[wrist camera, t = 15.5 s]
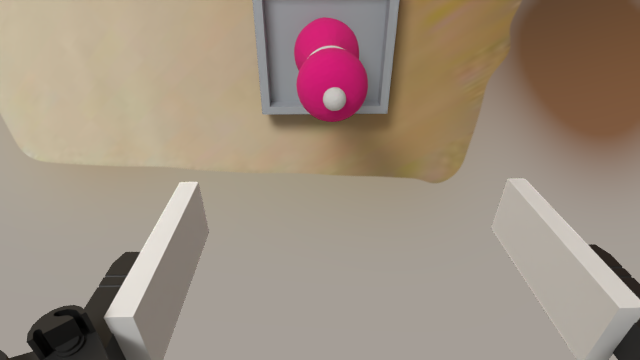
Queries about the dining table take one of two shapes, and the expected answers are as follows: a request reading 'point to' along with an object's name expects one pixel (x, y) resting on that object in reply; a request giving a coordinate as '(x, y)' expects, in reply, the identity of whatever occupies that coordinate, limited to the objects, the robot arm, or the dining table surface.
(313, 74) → the pepper mill
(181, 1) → the dining table surface
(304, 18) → the tray
